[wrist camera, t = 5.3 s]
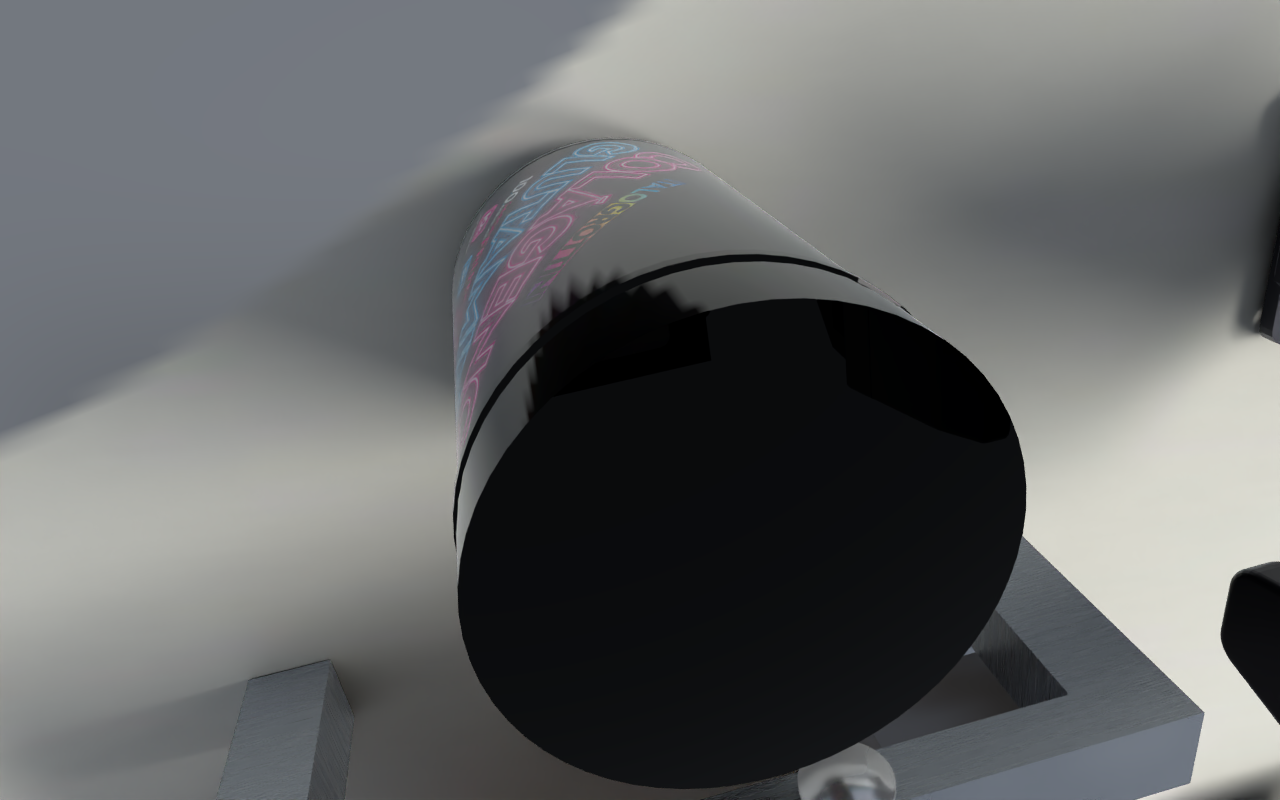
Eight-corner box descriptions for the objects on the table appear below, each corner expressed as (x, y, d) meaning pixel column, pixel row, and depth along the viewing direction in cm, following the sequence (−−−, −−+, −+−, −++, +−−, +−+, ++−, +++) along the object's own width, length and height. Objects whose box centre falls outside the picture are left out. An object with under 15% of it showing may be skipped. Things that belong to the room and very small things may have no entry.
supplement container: (737, 98, 18) (1044, 228, 9) (768, 387, 21) (1019, 706, 12) (409, 166, 17) (370, 385, 8) (492, 455, 20) (532, 850, 11)
